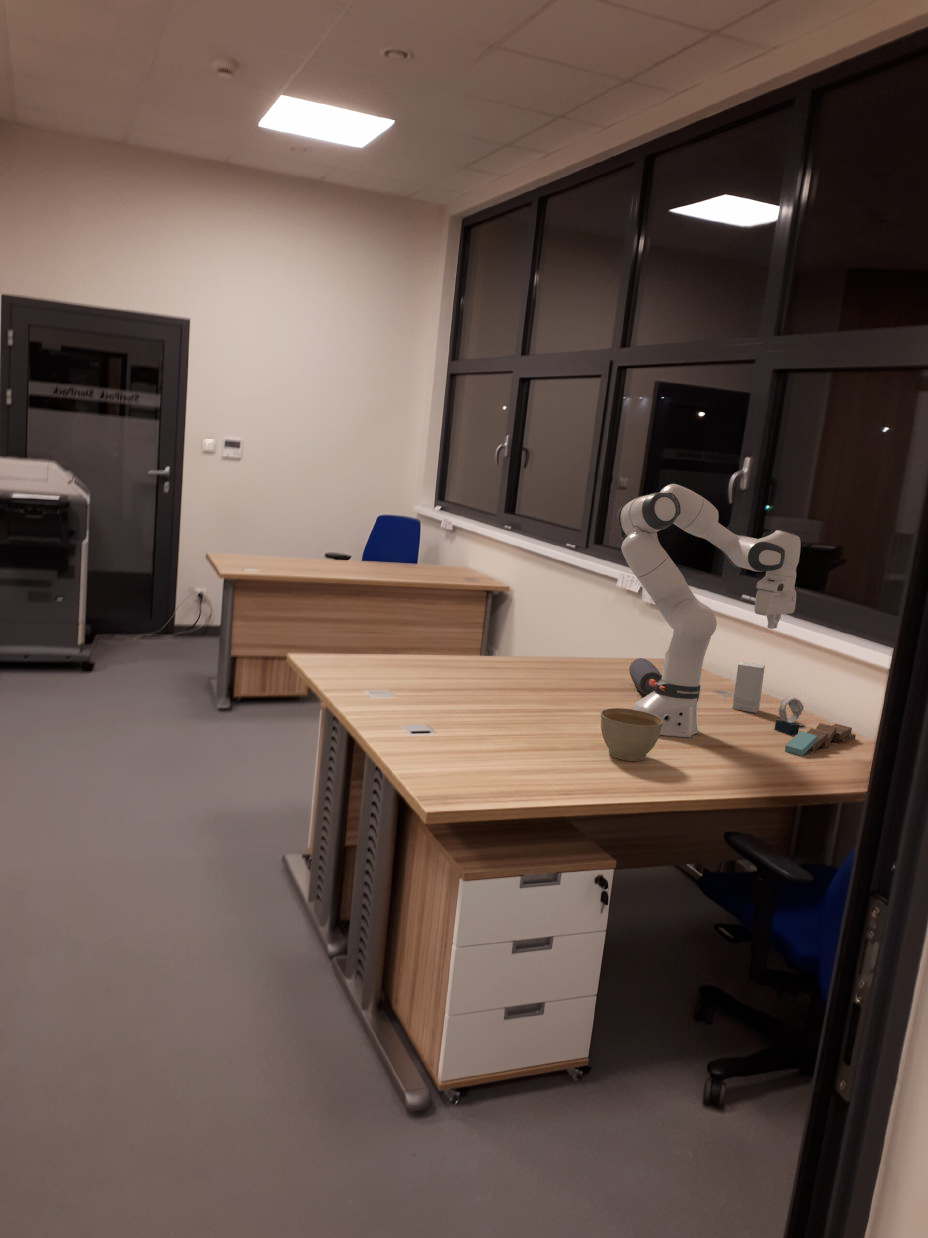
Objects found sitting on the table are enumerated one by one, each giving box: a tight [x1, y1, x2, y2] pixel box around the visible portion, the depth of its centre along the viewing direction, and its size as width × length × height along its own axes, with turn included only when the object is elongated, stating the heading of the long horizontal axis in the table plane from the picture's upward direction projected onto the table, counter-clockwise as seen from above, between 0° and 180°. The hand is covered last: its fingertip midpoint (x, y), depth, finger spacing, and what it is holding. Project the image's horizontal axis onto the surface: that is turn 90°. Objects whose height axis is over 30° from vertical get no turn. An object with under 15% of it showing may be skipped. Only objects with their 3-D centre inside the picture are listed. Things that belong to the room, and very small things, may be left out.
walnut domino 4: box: [830, 732, 857, 744], centre depth 292 cm, size 2×5×10 cm
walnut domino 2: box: [815, 722, 837, 749], centre depth 283 cm, size 2×5×10 cm
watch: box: [773, 696, 804, 736], centre depth 292 cm, size 6×8×11 cm
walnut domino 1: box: [806, 727, 828, 753], centre depth 277 cm, size 2×5×10 cm
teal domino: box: [784, 730, 817, 757], centre depth 272 cm, size 2×5×10 cm
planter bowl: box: [600, 707, 663, 762], centre depth 248 cm, size 16×16×11 cm
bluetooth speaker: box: [628, 657, 662, 696], centre depth 326 cm, size 23×9×10 cm, turn 179°
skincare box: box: [731, 661, 766, 714], centre depth 316 cm, size 8×7×16 cm
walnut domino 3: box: [831, 723, 853, 740], centre depth 290 cm, size 2×5×10 cm
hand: (772, 628), depth 292 cm, fingers closed
